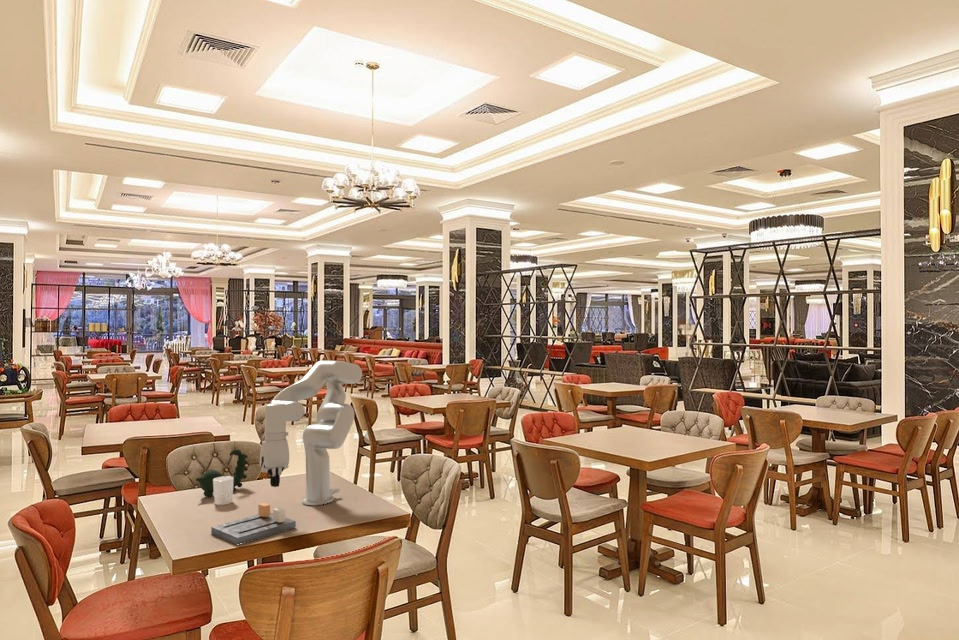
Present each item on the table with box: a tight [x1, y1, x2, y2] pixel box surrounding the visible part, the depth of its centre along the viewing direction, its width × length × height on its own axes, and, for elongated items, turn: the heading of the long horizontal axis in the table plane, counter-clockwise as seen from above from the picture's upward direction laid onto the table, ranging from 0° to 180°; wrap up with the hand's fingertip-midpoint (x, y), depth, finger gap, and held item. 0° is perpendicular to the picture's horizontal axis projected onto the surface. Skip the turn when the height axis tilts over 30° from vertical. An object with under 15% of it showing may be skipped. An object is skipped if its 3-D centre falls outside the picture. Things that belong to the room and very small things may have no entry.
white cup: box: [213, 475, 234, 506], centre depth 256 cm, size 8×8×10 cm
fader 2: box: [272, 507, 287, 523], centre depth 222 cm, size 2×4×5 cm, turn 50°
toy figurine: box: [195, 448, 249, 498], centre depth 270 cm, size 9×19×25 cm
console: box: [210, 512, 297, 545], centre depth 219 cm, size 22×18×3 cm
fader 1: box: [257, 502, 271, 518], centre depth 228 cm, size 2×4×5 cm, turn 50°
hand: (274, 486), depth 231 cm, fingers closed
